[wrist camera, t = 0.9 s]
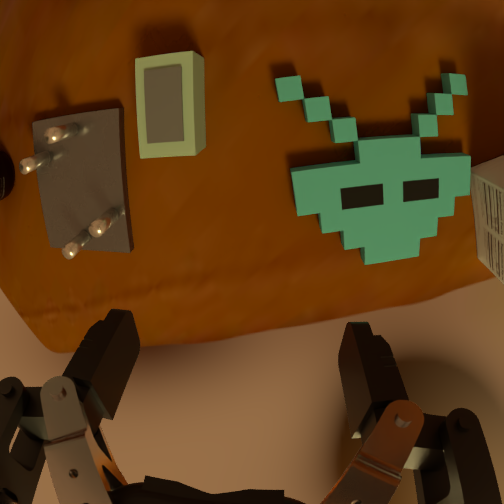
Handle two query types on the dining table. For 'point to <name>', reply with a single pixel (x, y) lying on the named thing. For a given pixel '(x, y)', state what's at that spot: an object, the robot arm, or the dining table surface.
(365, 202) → the alien figure
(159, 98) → the block
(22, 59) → the dining table surface
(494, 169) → the supplement box
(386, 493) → the robot arm
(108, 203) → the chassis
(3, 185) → the supplement bottle
